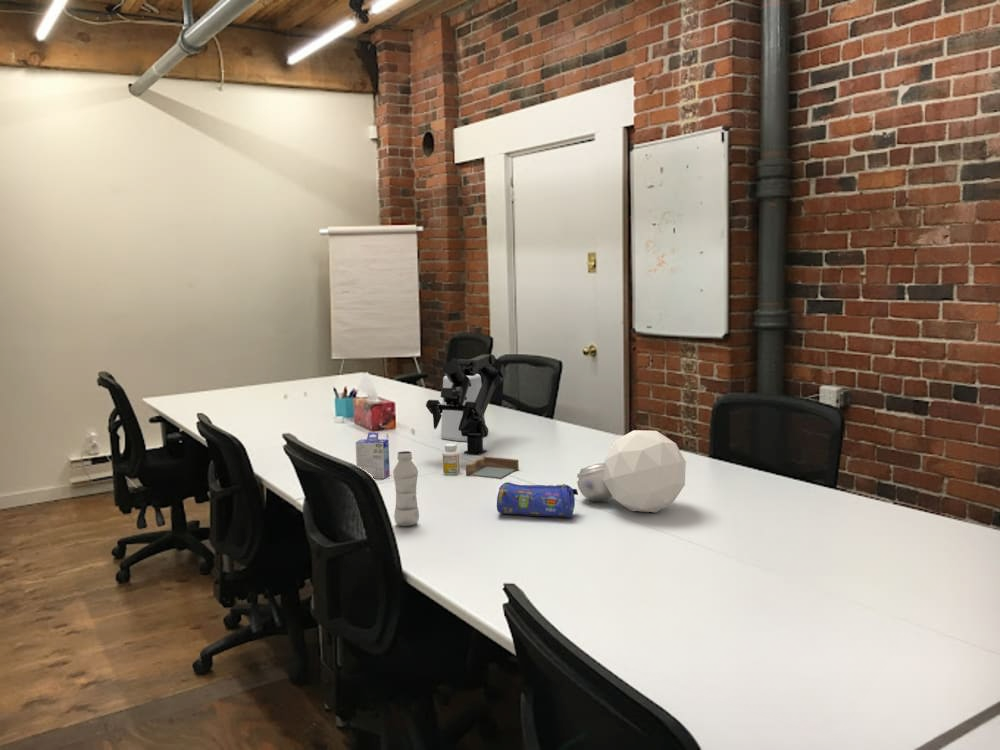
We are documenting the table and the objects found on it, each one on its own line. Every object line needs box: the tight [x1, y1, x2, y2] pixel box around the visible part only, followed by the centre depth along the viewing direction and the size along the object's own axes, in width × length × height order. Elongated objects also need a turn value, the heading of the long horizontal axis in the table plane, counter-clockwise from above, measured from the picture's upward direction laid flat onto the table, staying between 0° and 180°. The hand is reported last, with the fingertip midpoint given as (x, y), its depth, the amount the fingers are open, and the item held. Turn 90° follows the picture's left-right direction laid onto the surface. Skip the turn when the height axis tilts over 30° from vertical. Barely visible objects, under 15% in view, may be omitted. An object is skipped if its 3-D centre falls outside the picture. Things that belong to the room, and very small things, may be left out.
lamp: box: [576, 429, 687, 513], centre depth 240 cm, size 22×34×24 cm, turn 49°
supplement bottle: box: [442, 442, 460, 476], centre depth 281 cm, size 5×5×10 cm
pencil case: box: [496, 482, 579, 519], centre depth 235 cm, size 22×9×10 cm, turn 76°
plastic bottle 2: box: [440, 373, 486, 443], centre depth 334 cm, size 15×15×28 cm
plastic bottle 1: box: [392, 450, 420, 527], centre depth 228 cm, size 6×7×20 cm
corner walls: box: [465, 456, 520, 477], centre depth 281 cm, size 13×13×4 cm
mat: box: [470, 466, 516, 480], centre depth 281 cm, size 11×11×1 cm
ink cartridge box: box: [355, 432, 391, 480], centre depth 279 cm, size 10×6×14 cm, turn 78°
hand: (446, 429), depth 288 cm, fingers open, 9 cm apart
